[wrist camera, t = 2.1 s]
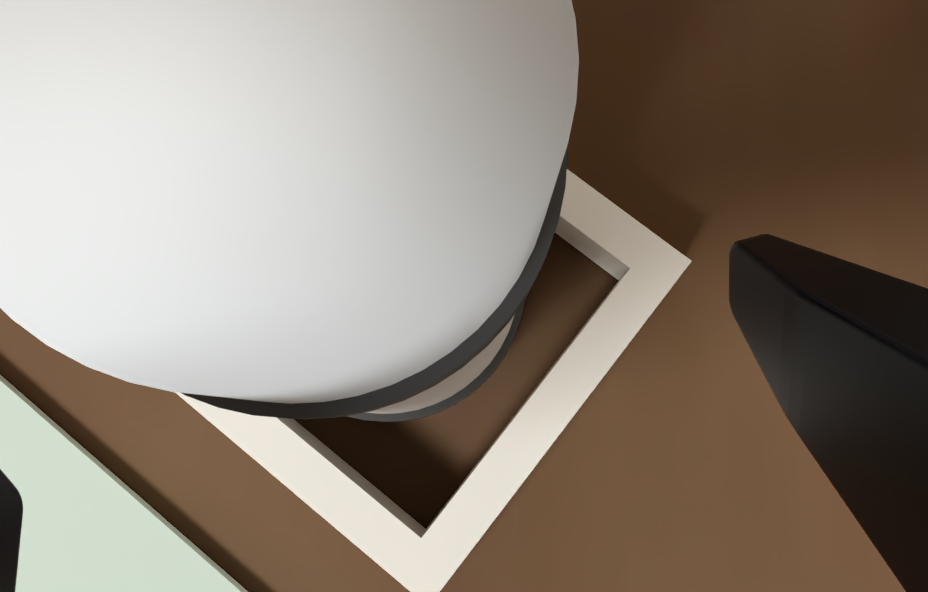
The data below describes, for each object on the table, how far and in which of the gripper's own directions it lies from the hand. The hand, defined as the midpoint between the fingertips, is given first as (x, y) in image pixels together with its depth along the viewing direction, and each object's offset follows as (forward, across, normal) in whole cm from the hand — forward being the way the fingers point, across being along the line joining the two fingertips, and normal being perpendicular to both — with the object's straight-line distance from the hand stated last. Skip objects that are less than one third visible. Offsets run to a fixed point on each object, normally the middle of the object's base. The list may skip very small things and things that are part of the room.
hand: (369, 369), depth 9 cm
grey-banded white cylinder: (+8, 0, +5) cm, 10 cm away
